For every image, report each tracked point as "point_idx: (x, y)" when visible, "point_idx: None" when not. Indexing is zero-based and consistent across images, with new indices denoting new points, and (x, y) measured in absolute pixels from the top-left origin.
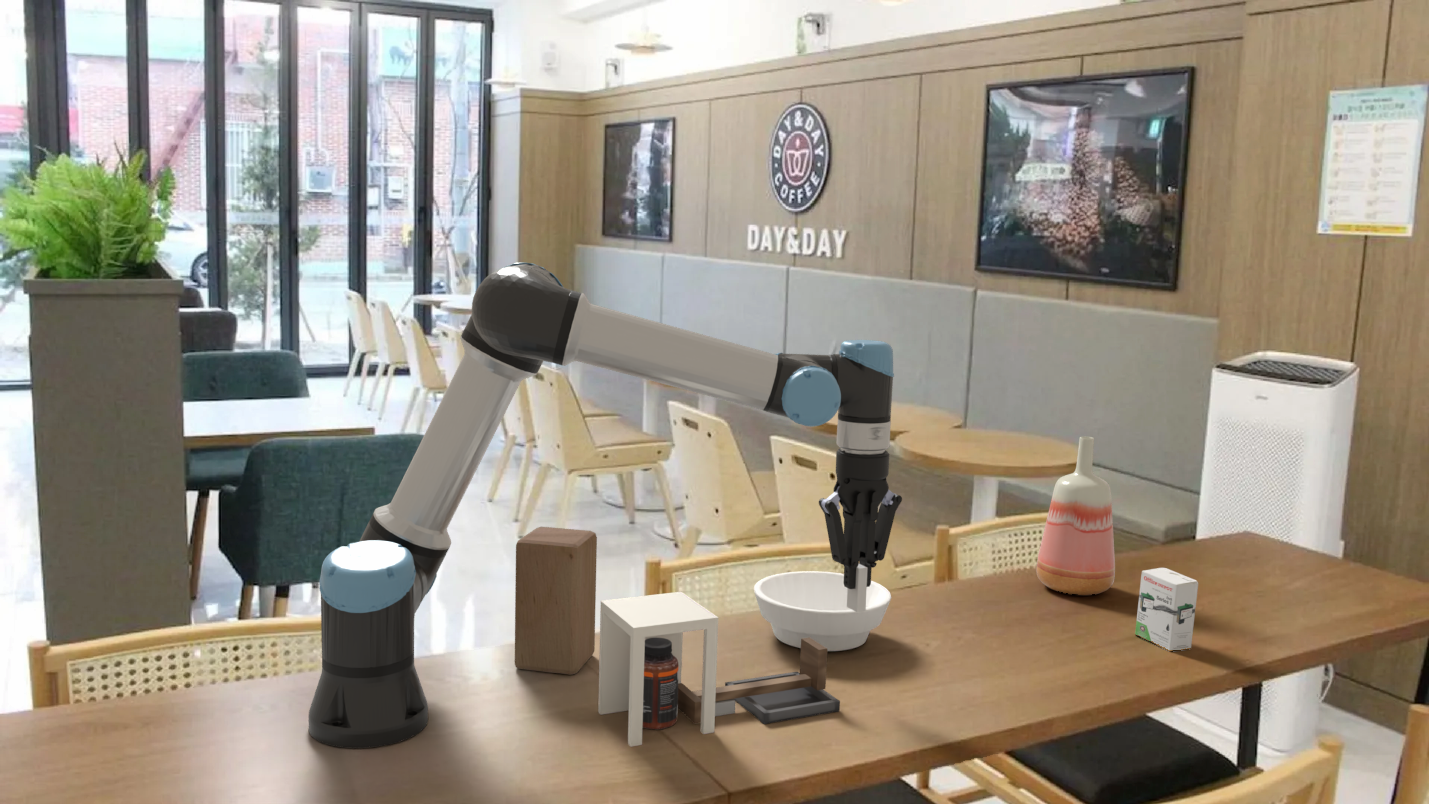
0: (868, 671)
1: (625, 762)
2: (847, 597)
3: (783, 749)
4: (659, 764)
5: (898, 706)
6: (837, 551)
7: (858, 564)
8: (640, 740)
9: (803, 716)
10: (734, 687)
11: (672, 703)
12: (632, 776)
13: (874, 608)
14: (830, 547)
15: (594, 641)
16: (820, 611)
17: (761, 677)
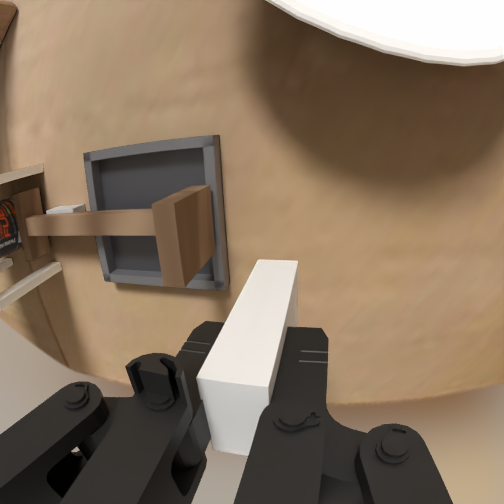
0: (388, 139)
1: (7, 288)
2: (250, 277)
3: (120, 338)
4: (25, 305)
5: (336, 302)
6: (52, 473)
7: (252, 413)
8: (9, 266)
9: None
10: (67, 226)
11: (10, 252)
12: (13, 311)
13: (482, 63)
14: (11, 426)
15: (3, 10)
16: (307, 17)
17: (138, 146)
